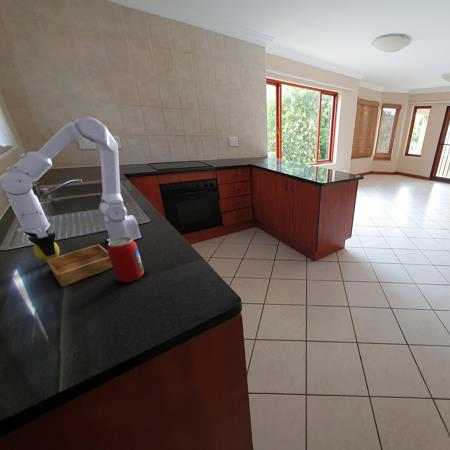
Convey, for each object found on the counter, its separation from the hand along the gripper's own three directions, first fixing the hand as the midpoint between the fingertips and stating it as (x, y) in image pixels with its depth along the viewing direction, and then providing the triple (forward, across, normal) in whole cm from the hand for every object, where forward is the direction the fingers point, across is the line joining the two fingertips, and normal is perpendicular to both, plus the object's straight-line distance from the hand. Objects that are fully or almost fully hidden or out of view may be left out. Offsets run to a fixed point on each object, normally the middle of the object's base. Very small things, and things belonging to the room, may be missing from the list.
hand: (48, 251), depth 77 cm
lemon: (+4, 0, 0) cm, 4 cm away
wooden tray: (+3, +14, +5) cm, 15 cm away
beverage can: (+4, +31, +12) cm, 33 cm away
